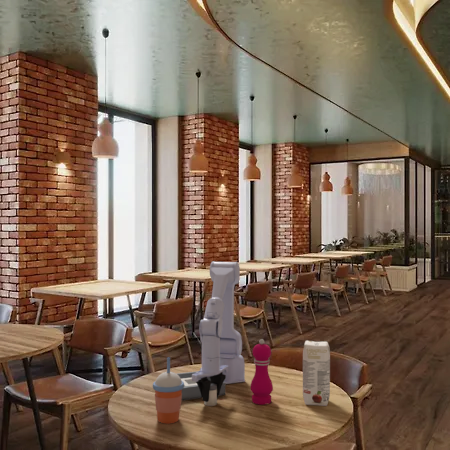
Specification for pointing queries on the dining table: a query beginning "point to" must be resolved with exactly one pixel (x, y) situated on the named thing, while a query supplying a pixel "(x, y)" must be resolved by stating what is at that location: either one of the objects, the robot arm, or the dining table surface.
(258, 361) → the pepper mill
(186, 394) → the walled box
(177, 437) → the dining table surface
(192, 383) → the inlet socket
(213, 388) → the connector peg
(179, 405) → the cup with straw
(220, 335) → the robot arm
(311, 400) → the juice carton
